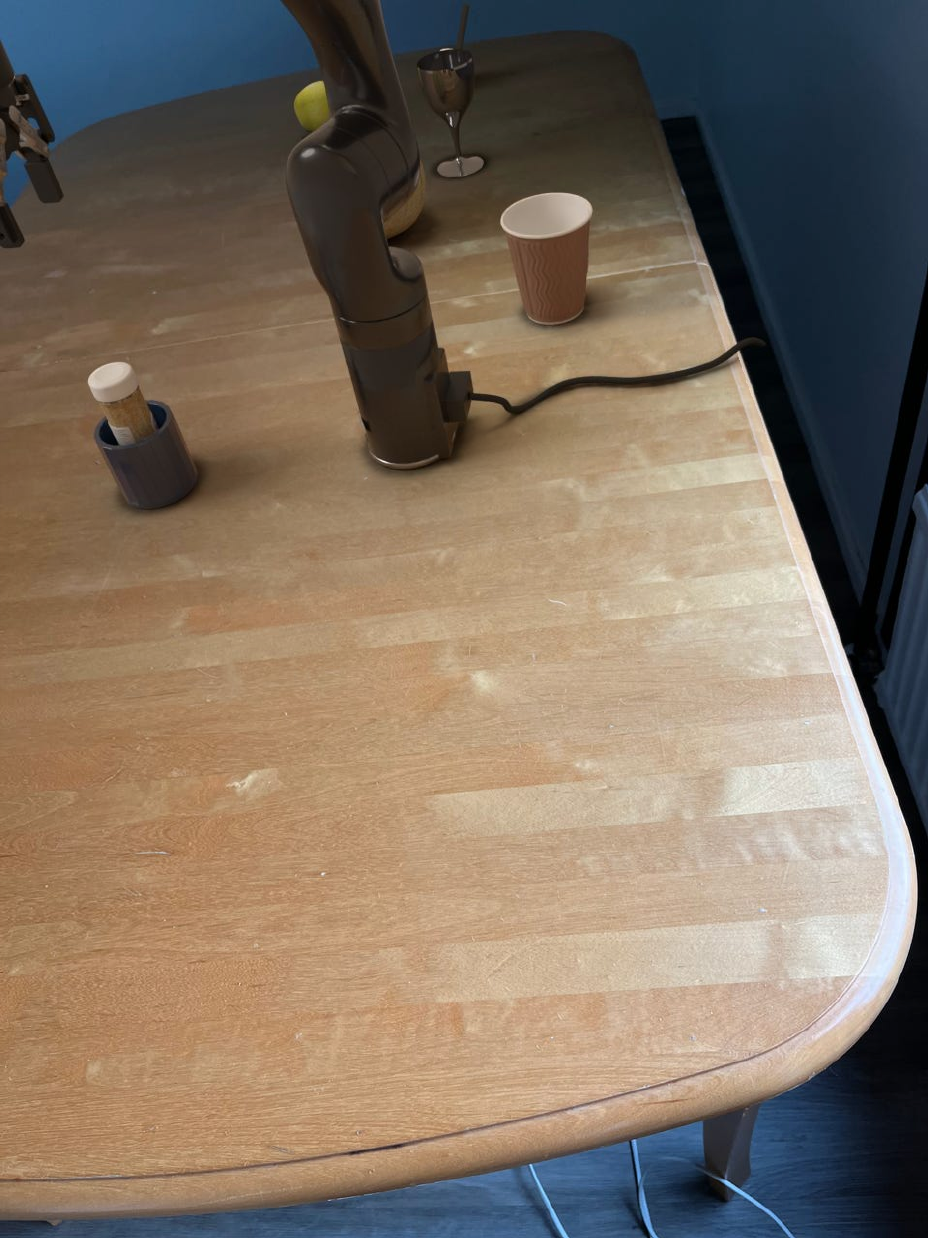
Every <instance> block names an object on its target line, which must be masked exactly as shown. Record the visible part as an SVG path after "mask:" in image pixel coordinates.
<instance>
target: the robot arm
mask: <svg viewBox="0 0 928 1238" xmlns="http://www.w3.org/2000/svg"><path fill="white" fill-rule="evenodd" d="M279 1H280V2H281V4H282V5H283V6H284V7H285V9H286V10H287V11H288V12H289V14H291V16H292V17H293V18H294V19H295V21H296V23H297V24H298V25H299V26H300V28H301V29H302V31H303V32H304V34H305V36H306V37H307V39H308V41H309V43H310V46H311V49H312V50H313V53H314V55H315V58H316V61H317V64H318V67H319V71H320V75H321V79H322V81H323V83H324V87H325V92H326V96H327V102H328V108H329V120H328V121H327V122H325V123H324V124H323V125H321V126H320V127H319V128H317V129H316V130H315V131H313V132H311V133H309V134H308V135H307V136H305V137H304V138H303V139H302V140H300V141H299V142H298V143H297V144H296V145H295V146H294V147H293V148H292V149H291V151H290V152H289V154H288V157H287V160H286V163H285V164H286V165H285V185H286V191H287V195H288V200H289V203H290V208H291V210H292V214H293V217H294V220H295V222H296V225H297V228H298V231H299V234H300V237H301V240H302V244H303V246H304V249H305V253H306V255H307V259H308V261H309V264H310V267H311V270H312V272H313V275H314V276H315V279H316V280H317V282H318V284H319V285H320V287H321V288H322V289H323V291H324V292H325V294H326V295H327V298H328V300H329V303H330V307H331V311H332V314H333V319H334V322H335V323H334V324H335V327H336V330H337V333H338V337H339V341H340V345H341V349H342V352H343V357H344V359H345V363H346V367H347V371H348V374H349V378H350V383H351V386H352V390H353V392H354V393H353V394H354V396H355V400H356V404H357V408H358V410H356V413H357V417H358V420H359V422H360V424H361V427H362V428H363V431H364V435H365V440H366V442H367V447H368V448H367V449H368V452H369V455H370V457H371V458H372V460H374V461H375V462H376V463H377V464H379V465H380V466H383V467H386V468H389V469H394V470H411V469H412V470H413V469H418V468H422V467H426V466H429V465H431V464H433V463H435V462H436V461H439V460H447V459H450V458H452V457H451V456H452V452H453V448H454V444H455V442H456V439H457V438H456V437H457V431H458V428H459V423H467V422H468V417H469V414H470V410H471V409H470V408H471V405H472V401H474V402H484V403H486V402H487V403H493V404H497V405H501V406H502V407H503V409H504V411H505V412H507V413H508V414H521V413H523V412H525V411H528V410H530V409H531V408H532V407H534V406H536V405H537V404H539V403H541V402H542V401H544V400H546V399H547V398H549V397H551V396H552V395H554V394H555V393H557V392H559V391H560V390H563V389H565V388H569V387H571V386H578V385H586V384H601V385H602V384H603V385H605V384H606V385H618V386H619V385H622V386H631V385H632V386H633V385H635V386H636V385H645V384H653V383H661V382H666V381H667V382H668V381H672V380H677V379H681V378H686V377H689V376H692V375H697V374H700V373H703V372H706V371H708V370H711V369H712V370H713V369H715V368H716V367H718V366H720V365H722V364H723V363H725V362H727V361H728V360H729V359H731V358H732V357H733V356H735V355H736V354H737V353H738V352H740V351H741V350H743V349H744V348H746V347H748V346H755V347H758V348H764V347H765V346H766V345H767V343H766V342H765V341H764V340H762V339H761V338H758V337H747V338H744V339H742V340H740V341H739V342H737V343H735V344H734V345H733V346H731V347H730V348H729V349H728V350H726V351H725V352H724V353H722V354H721V355H720V356H718V357H716V358H715V359H713V360H710V361H708V362H705V363H702V364H699V365H694V366H692V367H688V368H683V369H680V370H676V371H671V372H670V371H669V372H664V373H659V374H658V373H657V374H652V375H645V376H633V377H632V376H630V377H629V376H628V377H626V376H625V377H624V376H622V377H621V376H608V375H607V376H605V375H587V376H586V375H585V376H578V377H577V376H576V377H572V378H568V379H565V380H561V381H559V382H557V383H555V384H553V385H552V386H550V387H548V388H546V389H545V390H543V391H542V392H541V393H539V394H538V395H536V396H535V397H533V398H532V399H530V400H529V401H526V402H524V403H522V404H519V405H512V404H511V403H510V402H509V400H508V399H507V398H505V397H502V396H499V395H496V394H491V393H479V392H474V391H475V390H474V386H473V380H472V374H471V370H457V371H450V369H449V366H448V359H447V354H446V350H445V347H439V343H438V339H437V333H436V329H435V323H434V317H433V312H432V308H431V301H430V296H429V292H428V287H427V281H426V276H425V275H426V274H425V270H424V267H423V264H422V261H421V259H420V258H419V257H418V256H417V255H416V254H415V253H413V252H412V251H410V250H409V249H405V248H401V247H398V246H389V243H388V239H386V236H385V232H384V227H383V224H384V223H385V222H386V221H387V220H388V219H389V218H390V217H392V216H393V215H394V214H395V213H396V212H397V211H398V210H399V209H401V208H402V207H403V206H404V205H405V204H406V203H407V202H408V201H409V199H410V198H411V197H412V195H413V194H414V192H415V190H416V188H417V186H418V183H419V178H420V160H421V156H420V150H419V145H418V140H417V137H416V132H415V128H414V125H413V121H412V117H411V115H410V111H409V108H408V104H407V102H406V101H407V100H406V97H405V94H404V90H403V88H402V87H403V86H402V84H401V80H400V77H399V74H398V71H397V66H396V63H395V59H394V56H393V53H392V50H391V49H392V48H391V45H390V41H389V37H388V34H387V30H386V25H385V20H384V17H383V11H382V7H381V6H382V5H381V0H279ZM42 105H43V104H42V103H41V101H40V99H39V97H38V95H37V92H36V90H35V88H34V86H33V84H32V81H31V79H30V77H29V76H28V75H27V74H26V73H21V74H20V73H19V74H17V73H16V74H15V70H14V68H13V66H12V63H11V61H10V58H9V56H8V54H7V51H6V49H5V47H4V45H3V42H2V40H1V39H0V247H1V248H2V249H18V248H21V247H22V246H23V245H24V244H25V242H26V239H25V236H24V234H23V232H22V231H21V228H20V226H19V224H18V222H17V220H16V218H15V216H14V214H13V212H12V210H11V208H10V205H9V203H8V202H6V197H5V187H4V179H6V178H7V176H8V165H7V162H8V161H9V159H10V157H11V155H12V153H15V154H16V155H17V156H18V157H19V158H21V159H22V160H24V161H25V160H26V161H25V162H24V163H23V165H22V166H24V167H23V168H24V169H25V171H26V173H27V177H28V179H29V180H30V182H31V185H32V187H33V189H34V191H35V194H36V195H37V198H38V199H39V201H40V202H41V203H43V204H56V203H57V204H58V203H60V202H61V201H62V200H63V198H64V197H65V196H64V192H63V189H62V188H61V184H60V182H59V180H58V178H57V175H56V173H55V171H54V168H53V165H52V163H51V162H50V159H49V158H50V156H51V150H50V147H49V144H50V143H54V142H55V141H56V135H55V131H54V130H53V128H52V127H53V126H52V125H51V123H50V121H49V119H48V118H49V117H48V116H47V115H46V112H45V110H44V107H43V106H42ZM29 119H33V120H34V121H35V122H36V124H37V126H38V128H36V127H34V126H33V125H32V124H31V122H30V121H29Z"/></svg>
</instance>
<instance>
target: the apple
mask: <svg viewBox="0 0 928 1238" xmlns="http://www.w3.org/2000/svg"><path fill="white" fill-rule="evenodd" d="M293 109H294V113H295V116H296V117H297V120H298V122H299V124H300V125H301V127H302V128H303V129H305V130H306V131H308V132H311V133H312V132H313V131H315V130H316V129H317V128H319V127H320V126H321V125H323V124H324V123H325V122H327V121H328V120H329V108H328V102H327V96H326V92H325V87H324V83H323V80H317V81H315V82H312V83H310V84H308V85H307V86H305V87H304V88H303V89H302V90H300V91H299V93H297V95H296V96H295V99H294V101H293Z"/></svg>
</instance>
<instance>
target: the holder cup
mask: <svg viewBox="0 0 928 1238" xmlns="http://www.w3.org/2000/svg"><path fill="white" fill-rule="evenodd" d="M145 401H146V403H147V405H148V408H149V410H150V411H151V413H152V415H153V418H154V420H155V422H156V424H157V426H158V428H159V430H158V431H157V432H156V433H155V434H153V435H152V436H150V437H149V438H147V439H145V440H142V441H140V442H138V443H134V444H130V445H125V446H120V445H119V443H118V441H117V439H116V437H115V435H114V433H113V431H112V429H111V427H110V425H109V423H108V419H107V418H106V416H104V417H102V418H101V419H100V420H99V421H98V423H97V424H96V426H95V427H94V429H93V430H94V431H93V440H94V441H95V444H96V446H97V448H98V449H99V452H100V453H101V455H102V457H103V459H104V461H105V463H106V465H107V467H108V470H109V472H110V473H111V475H112V477H113V479H114V481H115V483H116V485H117V487H118V489H119V491H120V493H121V495H122V497H123V498H124V500H125V502H126V503H127V504H128V505H129V506H132V507H133V508H137V509H141V510H154V509H155V510H156V509H160V508H164V507H167V506H169V505H172V504H174V503H176V502H177V501H180V500H182V499H183V498H184V497H186V496H187V495H188V494H189V492H191V491H192V490H193V489H194V487H195V486H196V484H197V481H198V478H199V472H198V469H197V466H196V463H195V462H194V458H193V457H192V455H191V452H190V450H189V446H188V445H187V443H186V441H185V438H184V435H183V433H182V432H181V429H180V427H179V424H178V422H177V419H176V417H175V415H174V412H173V410H172V409H171V408H170V406H169V405H168V404H166V403H164V402H163V401H160V400H152V399H147V400H146V399H145Z"/></svg>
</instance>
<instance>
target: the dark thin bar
mask: <svg viewBox="0 0 928 1238" xmlns="http://www.w3.org/2000/svg"><path fill="white" fill-rule="evenodd" d="M469 10H470V4H469V3H468V2H467V1H465V2H463V4H462V8H461V16H460V21H459V27H458V33H457V39H456V44H455V49H463V45H464V39H465V35H466V34H465V33H466V27H467V21H468V17H469ZM449 49H450V48H447V47H446V48H441V49H440V50H439V51H442V50H449Z"/></svg>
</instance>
